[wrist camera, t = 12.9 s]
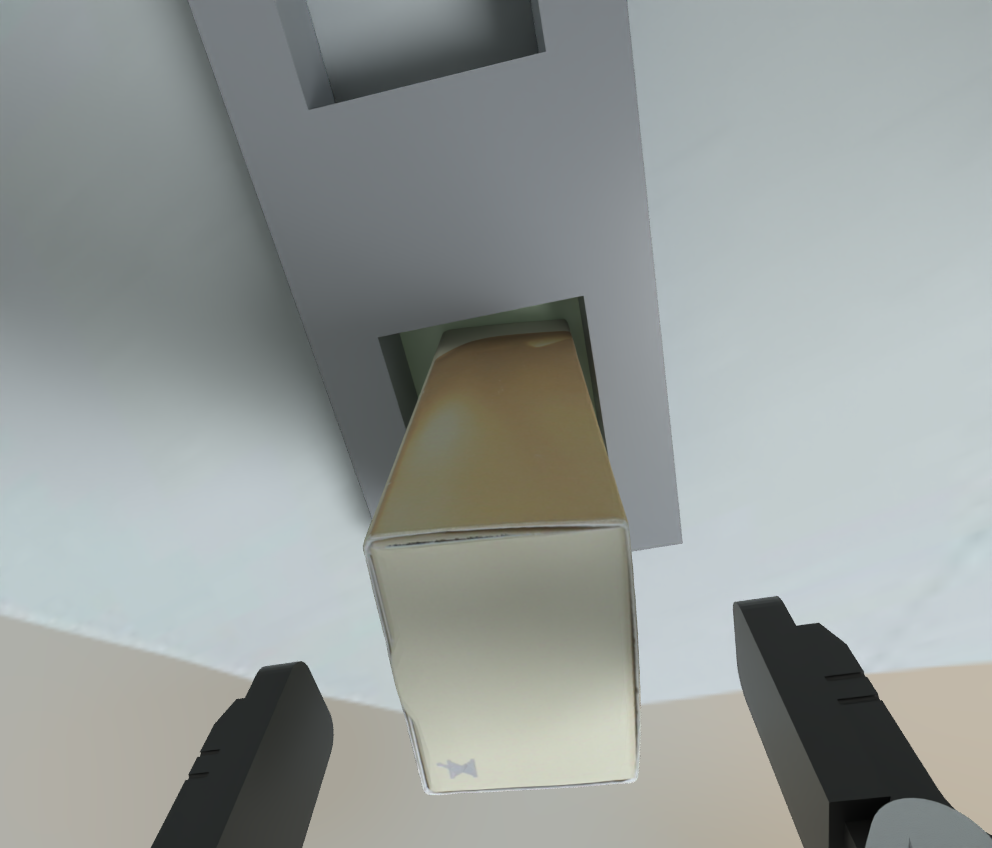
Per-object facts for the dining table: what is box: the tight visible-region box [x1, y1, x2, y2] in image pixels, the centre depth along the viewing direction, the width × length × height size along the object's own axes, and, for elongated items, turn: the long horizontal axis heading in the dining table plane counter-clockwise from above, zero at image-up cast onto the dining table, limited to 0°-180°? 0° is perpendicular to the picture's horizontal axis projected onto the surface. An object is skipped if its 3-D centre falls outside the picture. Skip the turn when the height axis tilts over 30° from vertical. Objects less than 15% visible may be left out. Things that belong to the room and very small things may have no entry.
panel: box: [188, 0, 683, 551], centre depth 18 cm, size 10×24×3 cm, turn 12°
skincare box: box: [363, 319, 641, 795], centre depth 16 cm, size 6×4×12 cm
